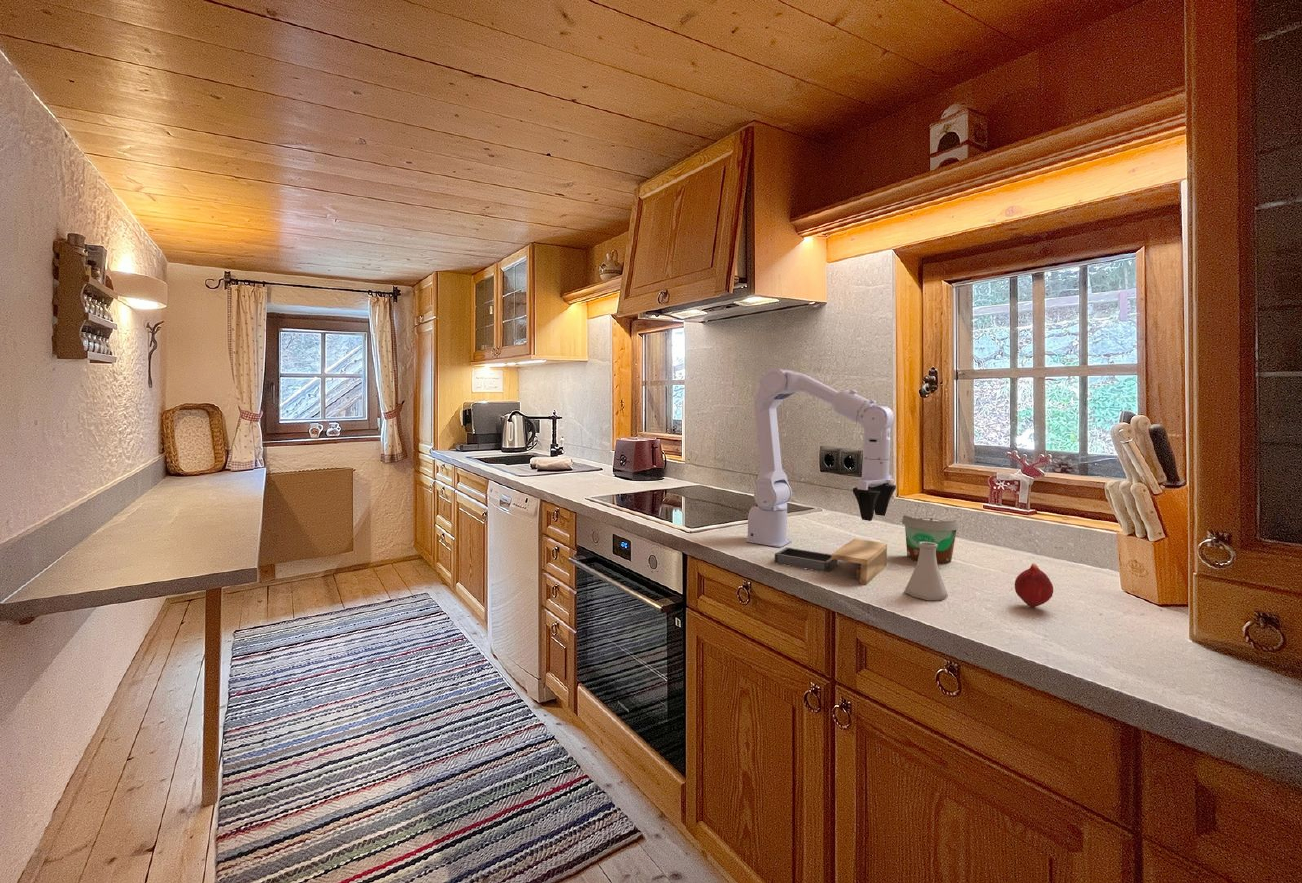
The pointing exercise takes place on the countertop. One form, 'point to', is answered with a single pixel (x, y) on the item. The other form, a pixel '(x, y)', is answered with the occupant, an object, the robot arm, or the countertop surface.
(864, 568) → the pine shelf
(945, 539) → the food container
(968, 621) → the countertop surface
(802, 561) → the dark grey drawer
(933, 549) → the flask
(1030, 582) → the onion
